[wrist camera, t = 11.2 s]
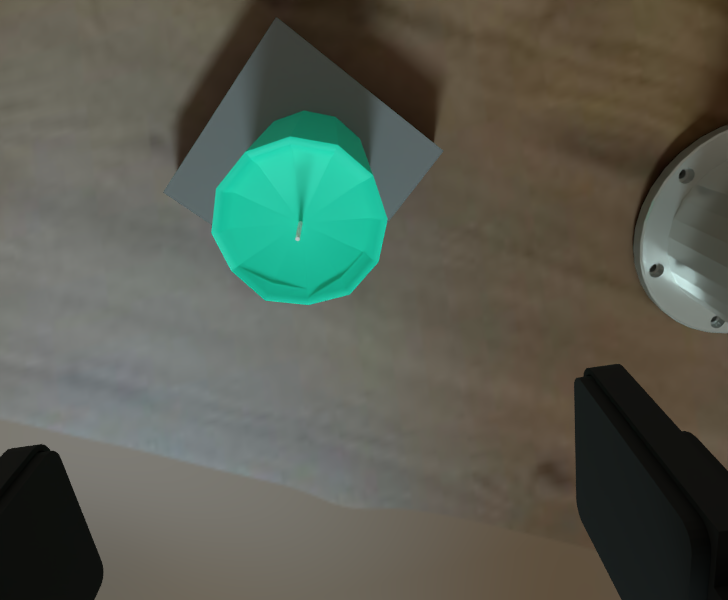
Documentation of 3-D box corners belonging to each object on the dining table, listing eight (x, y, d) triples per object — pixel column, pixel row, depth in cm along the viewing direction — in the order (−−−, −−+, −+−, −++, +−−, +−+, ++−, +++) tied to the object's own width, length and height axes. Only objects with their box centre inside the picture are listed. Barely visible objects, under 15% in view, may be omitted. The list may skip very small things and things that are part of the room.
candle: (241, 114, 29) (185, 149, 18) (366, 105, 29) (387, 134, 18) (257, 235, 31) (217, 332, 20) (373, 226, 31) (396, 318, 20)
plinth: (433, 143, 33) (443, 150, 30) (326, 282, 36) (325, 301, 33) (281, 20, 30) (276, 16, 28) (177, 181, 33) (163, 192, 30)
